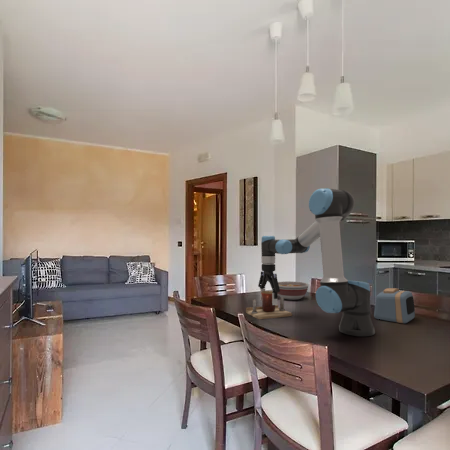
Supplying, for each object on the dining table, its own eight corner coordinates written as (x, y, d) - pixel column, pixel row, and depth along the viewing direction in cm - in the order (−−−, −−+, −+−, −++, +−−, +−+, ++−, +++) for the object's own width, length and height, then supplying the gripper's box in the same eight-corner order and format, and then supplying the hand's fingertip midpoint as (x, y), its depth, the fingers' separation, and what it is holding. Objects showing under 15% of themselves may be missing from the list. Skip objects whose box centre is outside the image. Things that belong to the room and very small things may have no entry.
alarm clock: (407, 325, 168) (406, 292, 168) (372, 319, 179) (372, 288, 179) (416, 318, 180) (415, 288, 180) (383, 313, 191) (382, 285, 191)
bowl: (274, 295, 247) (274, 281, 248) (306, 295, 244) (306, 281, 244) (274, 301, 225) (274, 286, 225) (310, 302, 222) (310, 286, 222)
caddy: (292, 315, 186) (292, 300, 186) (258, 319, 179) (258, 302, 179) (277, 309, 201) (277, 295, 201) (245, 312, 193) (245, 297, 194)
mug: (261, 308, 196) (261, 290, 197) (277, 309, 194) (277, 291, 194) (258, 313, 185) (258, 294, 185) (275, 314, 183) (275, 295, 183)
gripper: (286, 265, 180) (286, 306, 179) (263, 261, 203) (264, 298, 203) (273, 265, 177) (274, 307, 177) (252, 262, 200) (252, 299, 200)
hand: (268, 302), depth 190 cm, fingers open, 13 cm apart
